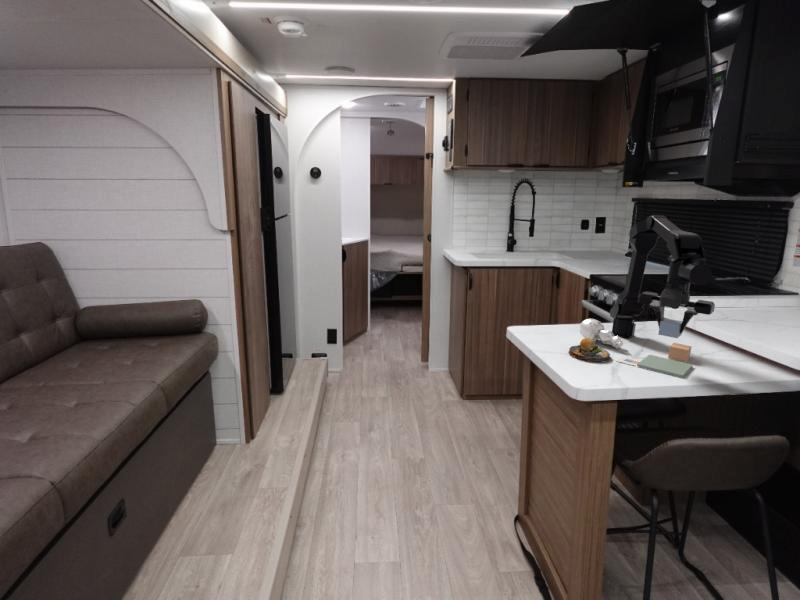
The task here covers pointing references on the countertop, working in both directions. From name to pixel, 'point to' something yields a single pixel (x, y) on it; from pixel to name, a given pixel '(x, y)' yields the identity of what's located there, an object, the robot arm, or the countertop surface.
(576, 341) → the countertop surface
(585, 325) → the figurine
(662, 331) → the brick blue
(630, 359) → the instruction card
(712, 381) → the countertop surface
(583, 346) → the food on plate
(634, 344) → the countertop surface
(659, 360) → the build plate
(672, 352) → the brick orange
